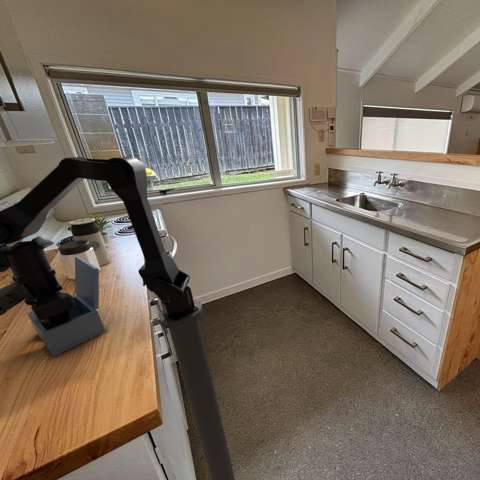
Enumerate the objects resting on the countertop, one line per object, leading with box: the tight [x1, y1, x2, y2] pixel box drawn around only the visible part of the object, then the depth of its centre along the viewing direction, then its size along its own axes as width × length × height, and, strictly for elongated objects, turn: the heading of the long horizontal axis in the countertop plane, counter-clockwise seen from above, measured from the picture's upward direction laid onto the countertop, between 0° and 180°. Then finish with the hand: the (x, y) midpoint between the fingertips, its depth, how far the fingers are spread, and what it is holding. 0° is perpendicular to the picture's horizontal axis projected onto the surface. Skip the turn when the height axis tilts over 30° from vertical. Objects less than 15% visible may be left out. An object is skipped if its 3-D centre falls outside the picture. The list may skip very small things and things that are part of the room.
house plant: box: [89, 213, 116, 249], centre depth 115 cm, size 14×14×16 cm
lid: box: [74, 257, 100, 310], centre depth 65 cm, size 10×14×1 cm
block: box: [40, 314, 71, 330], centre depth 62 cm, size 4×4×4 cm
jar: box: [57, 240, 102, 280], centre depth 92 cm, size 9×8×12 cm
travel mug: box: [68, 217, 111, 267], centre depth 99 cm, size 8×8×18 cm
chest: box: [26, 294, 106, 357], centre depth 63 cm, size 10×14×6 cm
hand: (59, 325), depth 62 cm, fingers closed on block, 4 cm apart
